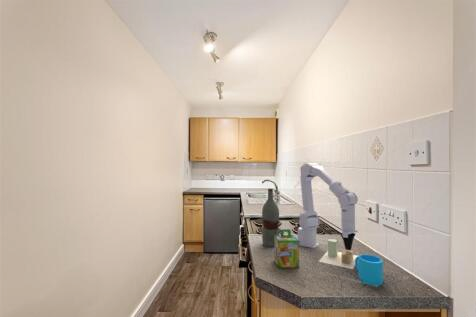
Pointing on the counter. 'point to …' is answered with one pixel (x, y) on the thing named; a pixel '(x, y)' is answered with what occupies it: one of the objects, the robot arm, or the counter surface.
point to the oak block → (347, 257)
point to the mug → (370, 269)
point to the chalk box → (286, 250)
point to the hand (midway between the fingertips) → (348, 249)
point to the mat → (337, 260)
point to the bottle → (270, 220)
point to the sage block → (332, 247)
